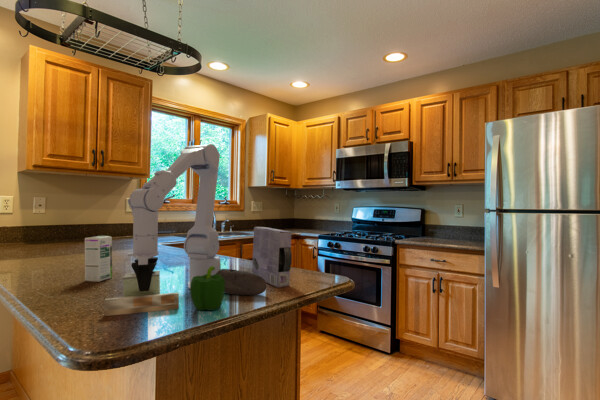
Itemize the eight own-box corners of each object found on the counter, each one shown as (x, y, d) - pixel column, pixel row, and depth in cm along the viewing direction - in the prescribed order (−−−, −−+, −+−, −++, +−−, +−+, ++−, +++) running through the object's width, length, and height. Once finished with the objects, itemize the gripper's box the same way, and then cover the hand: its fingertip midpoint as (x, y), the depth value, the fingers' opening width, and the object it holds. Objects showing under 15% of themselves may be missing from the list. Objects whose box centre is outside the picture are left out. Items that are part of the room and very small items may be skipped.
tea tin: (123, 302, 82) (122, 277, 82) (126, 297, 87) (125, 273, 87) (159, 298, 85) (158, 274, 85) (160, 293, 89) (159, 270, 89)
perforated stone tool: (269, 294, 97) (269, 269, 97) (263, 299, 92) (263, 273, 92) (222, 290, 101) (222, 267, 101) (213, 294, 95) (213, 270, 96)
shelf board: (178, 296, 93) (178, 283, 93) (178, 308, 83) (178, 293, 83) (112, 302, 87) (112, 288, 87) (104, 316, 77) (104, 300, 77)
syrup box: (99, 281, 110) (99, 237, 110) (84, 281, 111) (84, 237, 111) (112, 278, 116) (112, 235, 116) (97, 277, 117) (98, 235, 117)
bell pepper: (207, 316, 78) (207, 272, 78) (183, 309, 82) (183, 268, 82) (232, 306, 85) (233, 266, 85) (209, 301, 89) (210, 263, 89)
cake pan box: (292, 286, 105) (293, 230, 105) (279, 288, 102) (279, 230, 102) (263, 275, 121) (264, 226, 121) (251, 277, 118) (251, 226, 118)
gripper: (131, 233, 92) (131, 283, 91) (124, 238, 78) (123, 297, 78) (159, 232, 94) (159, 281, 94) (157, 237, 80) (156, 294, 80)
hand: (145, 288), depth 86 cm, fingers closed on tea tin, 5 cm apart
